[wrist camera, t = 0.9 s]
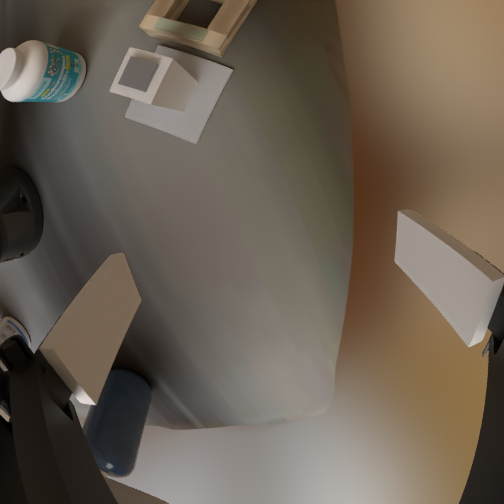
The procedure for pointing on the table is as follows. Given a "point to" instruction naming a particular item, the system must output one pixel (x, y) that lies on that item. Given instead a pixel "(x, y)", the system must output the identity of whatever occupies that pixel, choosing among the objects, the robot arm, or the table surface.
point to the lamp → (119, 431)
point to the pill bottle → (40, 73)
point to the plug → (154, 80)
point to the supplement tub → (11, 332)
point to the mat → (199, 105)
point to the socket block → (208, 40)
